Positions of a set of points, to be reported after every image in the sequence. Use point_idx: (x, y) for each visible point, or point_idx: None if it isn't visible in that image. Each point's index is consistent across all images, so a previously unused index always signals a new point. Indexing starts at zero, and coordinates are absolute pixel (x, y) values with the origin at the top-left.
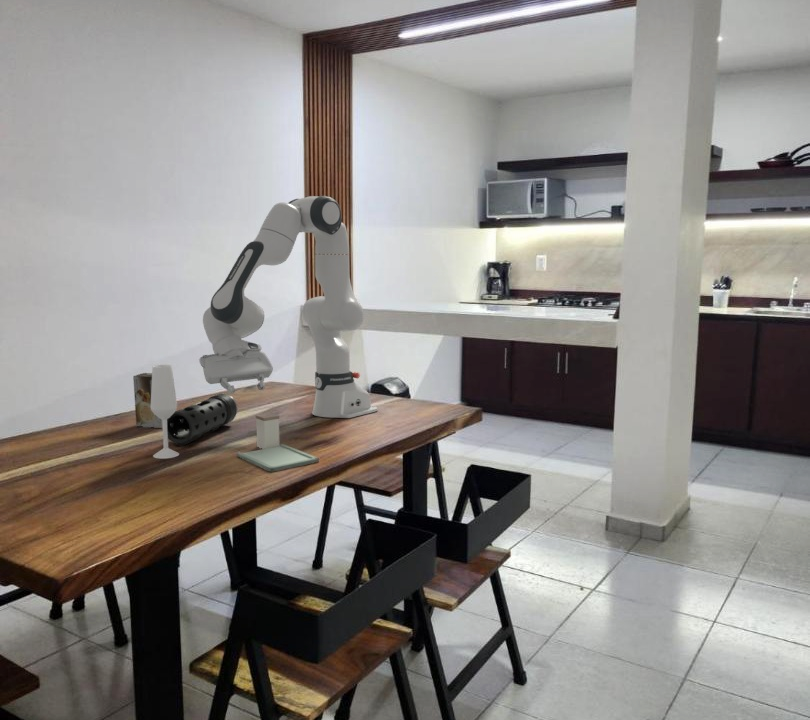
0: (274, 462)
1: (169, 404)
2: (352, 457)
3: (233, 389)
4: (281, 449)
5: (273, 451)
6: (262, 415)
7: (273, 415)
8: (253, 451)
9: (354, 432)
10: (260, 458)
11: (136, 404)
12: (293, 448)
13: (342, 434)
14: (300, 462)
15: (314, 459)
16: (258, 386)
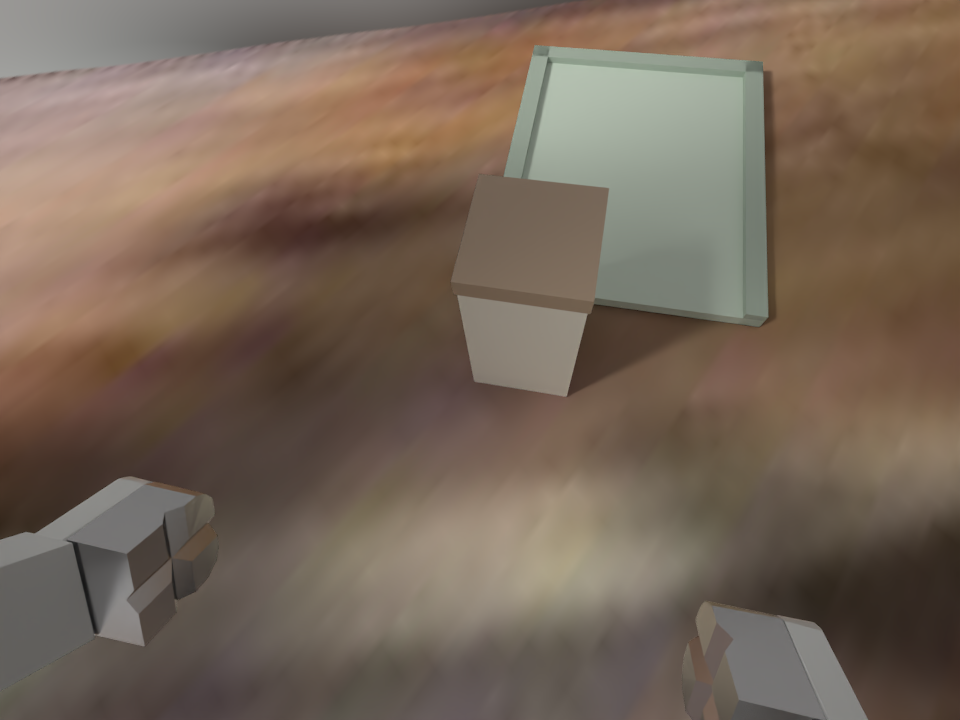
0: (691, 119)
1: None
2: (408, 31)
3: (748, 615)
4: None
5: None
6: (559, 259)
7: (500, 205)
8: (665, 300)
9: (51, 252)
10: (707, 193)
11: None
12: None
13: (111, 265)
14: (620, 53)
15: (555, 47)
16: (171, 581)
